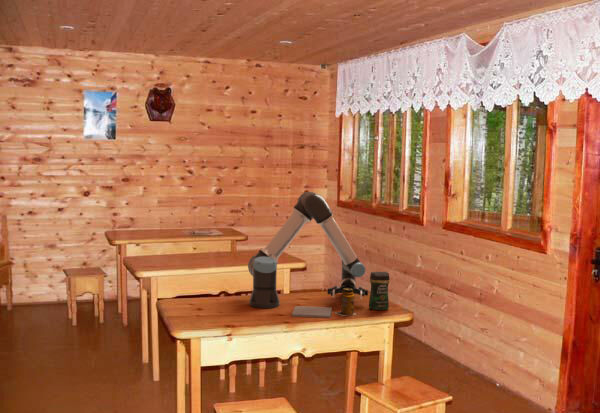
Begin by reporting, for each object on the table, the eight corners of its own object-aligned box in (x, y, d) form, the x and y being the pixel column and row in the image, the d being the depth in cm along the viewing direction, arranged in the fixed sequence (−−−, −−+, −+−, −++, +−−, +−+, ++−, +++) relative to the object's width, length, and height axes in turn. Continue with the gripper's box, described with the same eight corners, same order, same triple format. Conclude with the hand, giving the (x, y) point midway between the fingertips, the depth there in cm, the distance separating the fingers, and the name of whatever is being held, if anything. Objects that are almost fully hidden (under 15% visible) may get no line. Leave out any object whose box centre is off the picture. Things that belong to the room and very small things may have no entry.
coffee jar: (371, 311, 317) (372, 273, 315) (367, 307, 325) (368, 270, 323) (390, 310, 319) (391, 273, 317) (385, 306, 326) (386, 270, 325)
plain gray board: (291, 316, 305) (291, 314, 305) (295, 308, 321) (295, 306, 321) (330, 317, 303) (330, 315, 303) (331, 309, 319) (331, 307, 319)
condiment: (357, 314, 311) (358, 289, 310) (343, 316, 306) (343, 291, 305) (348, 311, 317) (348, 286, 316) (334, 313, 312) (334, 288, 311)
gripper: (371, 294, 339) (372, 304, 318) (324, 292, 341) (321, 302, 320) (372, 280, 338) (373, 289, 317) (324, 278, 340) (322, 287, 319)
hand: (347, 295), depth 318 cm, fingers open, 13 cm apart
